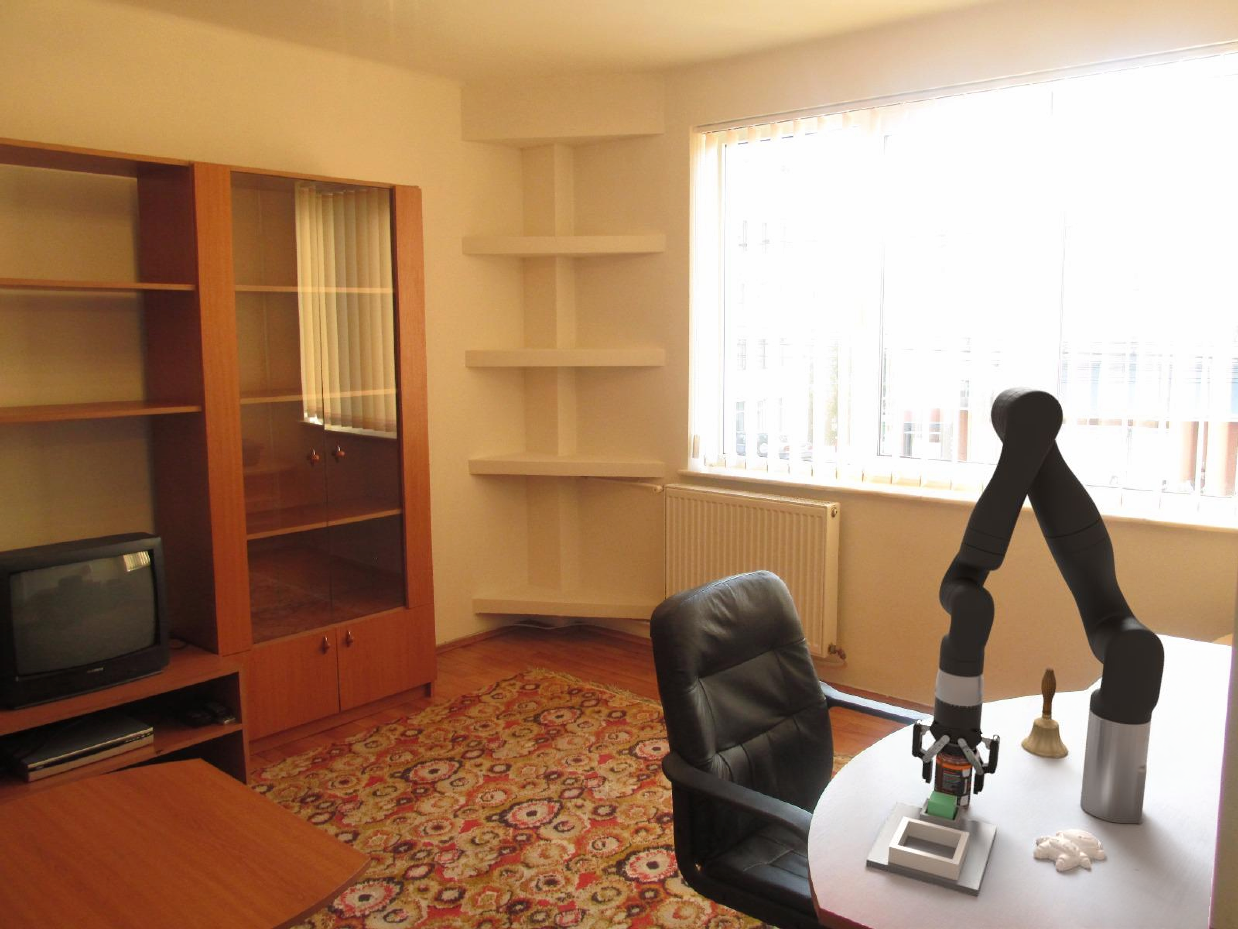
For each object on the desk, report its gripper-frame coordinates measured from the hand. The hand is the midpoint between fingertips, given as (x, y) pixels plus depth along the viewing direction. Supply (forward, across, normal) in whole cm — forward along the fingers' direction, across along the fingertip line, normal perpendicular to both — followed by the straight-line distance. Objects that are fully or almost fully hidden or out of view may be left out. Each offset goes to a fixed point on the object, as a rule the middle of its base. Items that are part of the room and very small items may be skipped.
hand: (951, 786), depth 167 cm
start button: (+1, 0, +10) cm, 10 cm away
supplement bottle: (+3, 0, 0) cm, 3 cm away
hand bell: (+3, -12, -31) cm, 33 cm away
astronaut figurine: (+4, -19, +7) cm, 20 cm away
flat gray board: (+3, 0, +16) cm, 16 cm away
